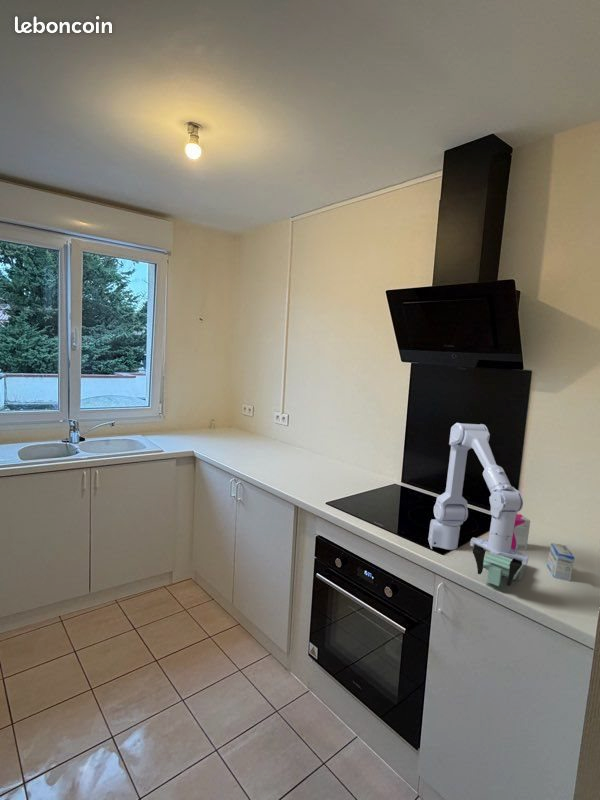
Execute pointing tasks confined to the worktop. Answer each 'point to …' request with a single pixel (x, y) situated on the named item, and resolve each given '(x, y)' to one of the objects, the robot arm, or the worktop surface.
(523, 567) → the tub
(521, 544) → the supplement box
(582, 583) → the worktop surface
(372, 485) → the worktop surface
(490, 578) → the lid
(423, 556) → the worktop surface
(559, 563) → the medicine box
